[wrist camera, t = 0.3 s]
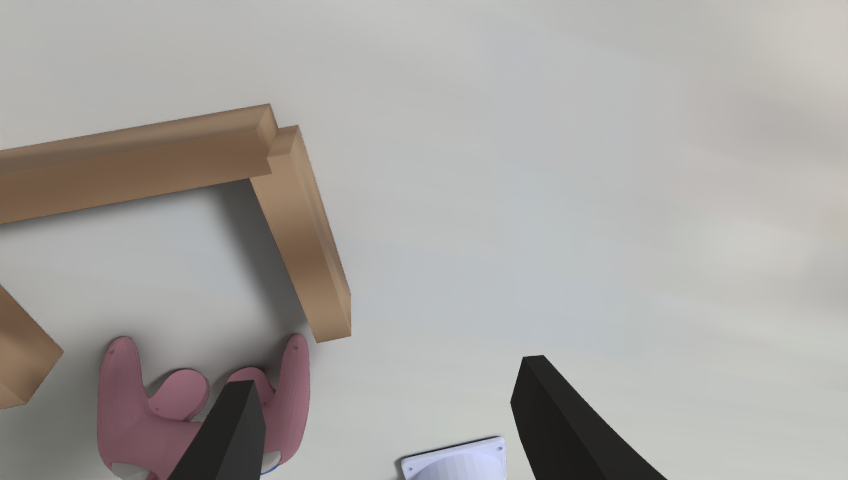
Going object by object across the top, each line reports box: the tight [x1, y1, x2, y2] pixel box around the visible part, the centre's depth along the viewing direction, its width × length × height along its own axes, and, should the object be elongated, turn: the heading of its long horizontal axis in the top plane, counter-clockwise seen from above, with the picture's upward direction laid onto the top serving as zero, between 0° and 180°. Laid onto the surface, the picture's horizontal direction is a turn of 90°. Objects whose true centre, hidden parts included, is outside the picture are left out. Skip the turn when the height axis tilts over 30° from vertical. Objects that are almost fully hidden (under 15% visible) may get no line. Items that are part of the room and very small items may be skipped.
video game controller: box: [97, 334, 310, 480], centre depth 21 cm, size 10×5×7 cm, turn 82°
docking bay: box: [0, 104, 351, 409], centre depth 17 cm, size 10×16×3 cm, turn 98°
